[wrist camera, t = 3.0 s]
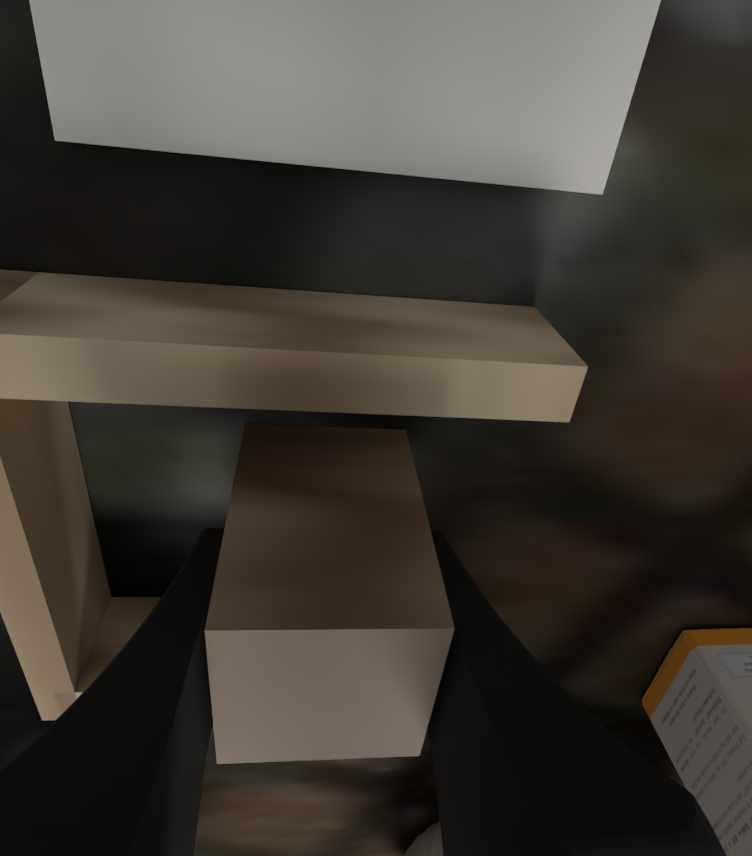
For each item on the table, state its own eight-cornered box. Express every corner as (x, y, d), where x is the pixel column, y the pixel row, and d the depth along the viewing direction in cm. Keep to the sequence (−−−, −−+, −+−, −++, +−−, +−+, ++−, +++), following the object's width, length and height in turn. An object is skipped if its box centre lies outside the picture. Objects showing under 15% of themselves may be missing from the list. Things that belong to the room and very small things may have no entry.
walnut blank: (248, 542, 16) (217, 764, 11) (245, 423, 14) (205, 630, 9) (388, 544, 16) (419, 756, 11) (406, 429, 14) (454, 628, 9)
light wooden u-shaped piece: (82, 623, 17) (42, 720, 15) (-14, 268, 11) (-110, 327, 9) (450, 621, 19) (471, 708, 16) (534, 307, 13) (588, 366, 10)
